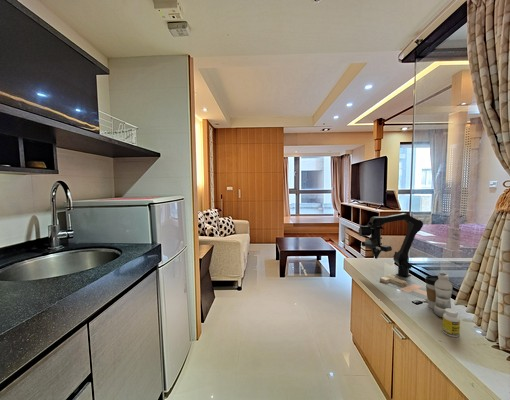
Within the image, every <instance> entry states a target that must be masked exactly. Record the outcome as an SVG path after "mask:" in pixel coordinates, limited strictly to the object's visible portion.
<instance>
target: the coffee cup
mask: <svg viewBox="0 0 510 400" xmlns="http://www.w3.org/2000/svg"><path fill="white" fill-rule="evenodd" d="M438 279H439V278H438V275H427V276H426V277H425V279H424V282H425V284H426V285H425V288H426V291H427V299H428V301H427V305H428V307H429V308H430V309H433V310H434V306H435V301H436V291H435V282H436V281H437V280H438Z"/></svg>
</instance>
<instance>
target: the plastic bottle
mask: <svg viewBox="0 0 510 400" xmlns="http://www.w3.org/2000/svg"><path fill="white" fill-rule="evenodd" d="M437 276H438V278H439V279H438V280H437V281H436V282H435V291H436V301H435V306H434V309H433V312H434V313H435V315H436V316H438V317H439V318H442V319H443V314H444V313H445V309H446V308H450V309H452V302H451V299H452V298H451V297H452V293H453V285H452V283H451V282H450V281H449V280H450V278H449V274H447V273H443V272H438V273H437Z"/></svg>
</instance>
